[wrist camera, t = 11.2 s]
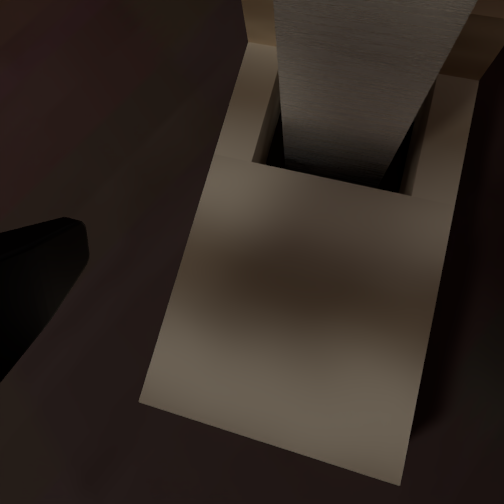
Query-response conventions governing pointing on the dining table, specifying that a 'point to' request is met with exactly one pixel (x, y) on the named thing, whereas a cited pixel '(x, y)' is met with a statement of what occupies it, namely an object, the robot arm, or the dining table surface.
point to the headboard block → (316, 273)
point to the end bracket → (357, 78)
